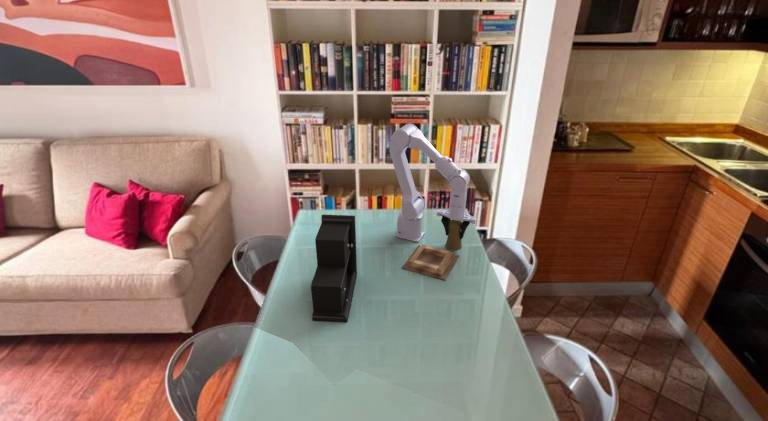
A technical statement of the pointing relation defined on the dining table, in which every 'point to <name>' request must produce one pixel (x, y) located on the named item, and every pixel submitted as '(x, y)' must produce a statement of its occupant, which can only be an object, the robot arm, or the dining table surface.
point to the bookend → (334, 268)
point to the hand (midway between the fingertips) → (454, 235)
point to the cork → (454, 235)
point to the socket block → (431, 262)
